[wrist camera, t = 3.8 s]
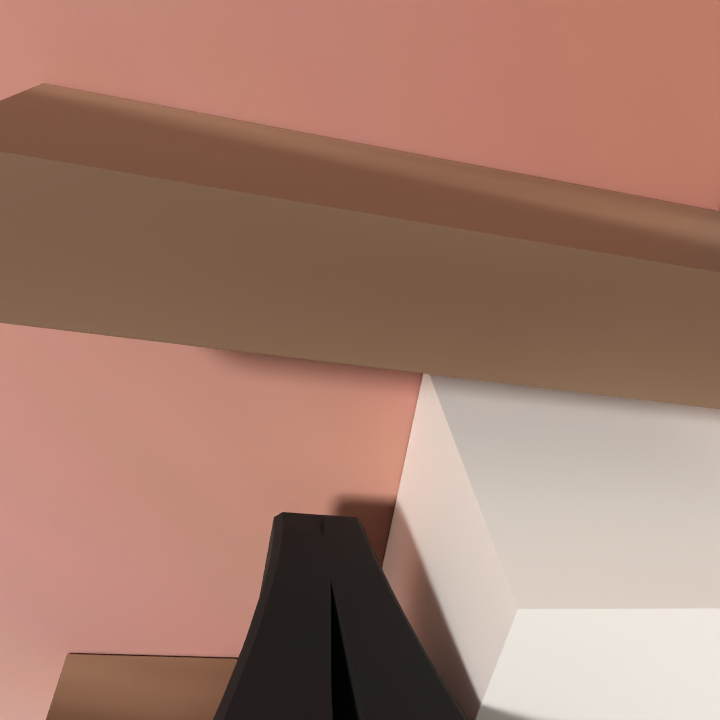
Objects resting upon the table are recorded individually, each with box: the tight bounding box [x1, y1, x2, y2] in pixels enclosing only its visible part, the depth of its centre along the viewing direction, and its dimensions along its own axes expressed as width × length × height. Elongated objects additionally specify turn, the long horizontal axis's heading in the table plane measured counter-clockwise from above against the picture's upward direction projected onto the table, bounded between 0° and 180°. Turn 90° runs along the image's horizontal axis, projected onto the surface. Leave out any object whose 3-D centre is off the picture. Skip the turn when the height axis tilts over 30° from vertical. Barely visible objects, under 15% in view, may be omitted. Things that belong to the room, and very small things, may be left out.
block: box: [382, 374, 720, 720], centre depth 10 cm, size 6×6×4 cm
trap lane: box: [0, 83, 720, 720], centre depth 10 cm, size 24×21×4 cm
